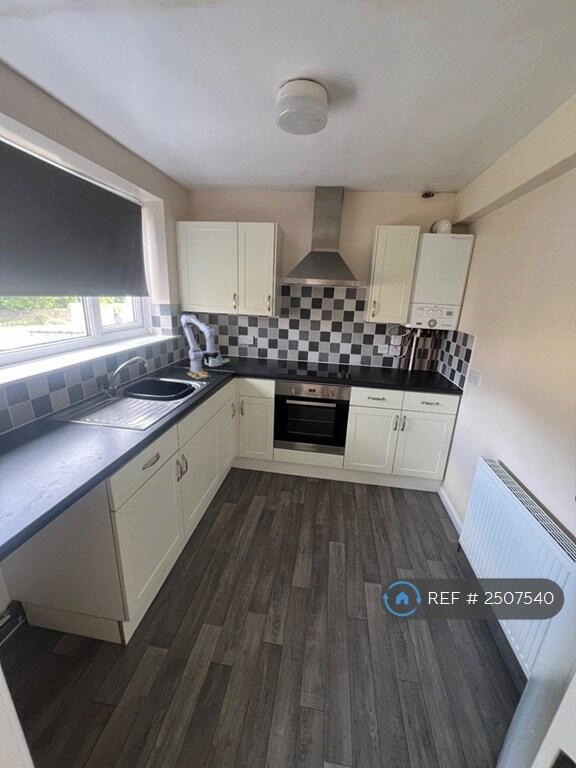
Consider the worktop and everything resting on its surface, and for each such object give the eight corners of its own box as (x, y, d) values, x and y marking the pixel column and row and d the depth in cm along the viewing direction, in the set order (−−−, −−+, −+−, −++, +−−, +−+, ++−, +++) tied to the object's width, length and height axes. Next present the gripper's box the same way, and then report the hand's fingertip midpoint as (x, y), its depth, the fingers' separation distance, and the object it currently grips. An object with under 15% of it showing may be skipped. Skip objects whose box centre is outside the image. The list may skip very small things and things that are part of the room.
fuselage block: (204, 363, 231) (204, 357, 230) (210, 363, 234) (210, 356, 233) (211, 366, 223) (211, 360, 222) (217, 365, 226) (217, 359, 225)
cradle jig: (187, 374, 228) (186, 370, 228) (200, 372, 235) (200, 368, 234) (197, 379, 215) (196, 375, 214) (211, 377, 222) (211, 373, 221)
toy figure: (207, 366, 257) (206, 348, 253) (215, 364, 266) (214, 347, 262) (222, 368, 249) (222, 351, 245) (230, 366, 258) (230, 349, 254)
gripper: (203, 346, 217) (204, 365, 221) (221, 345, 226) (222, 362, 230) (199, 345, 222) (200, 363, 226) (217, 343, 231) (217, 361, 235)
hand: (211, 363), depth 228 cm, fingers closed on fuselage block, 5 cm apart
